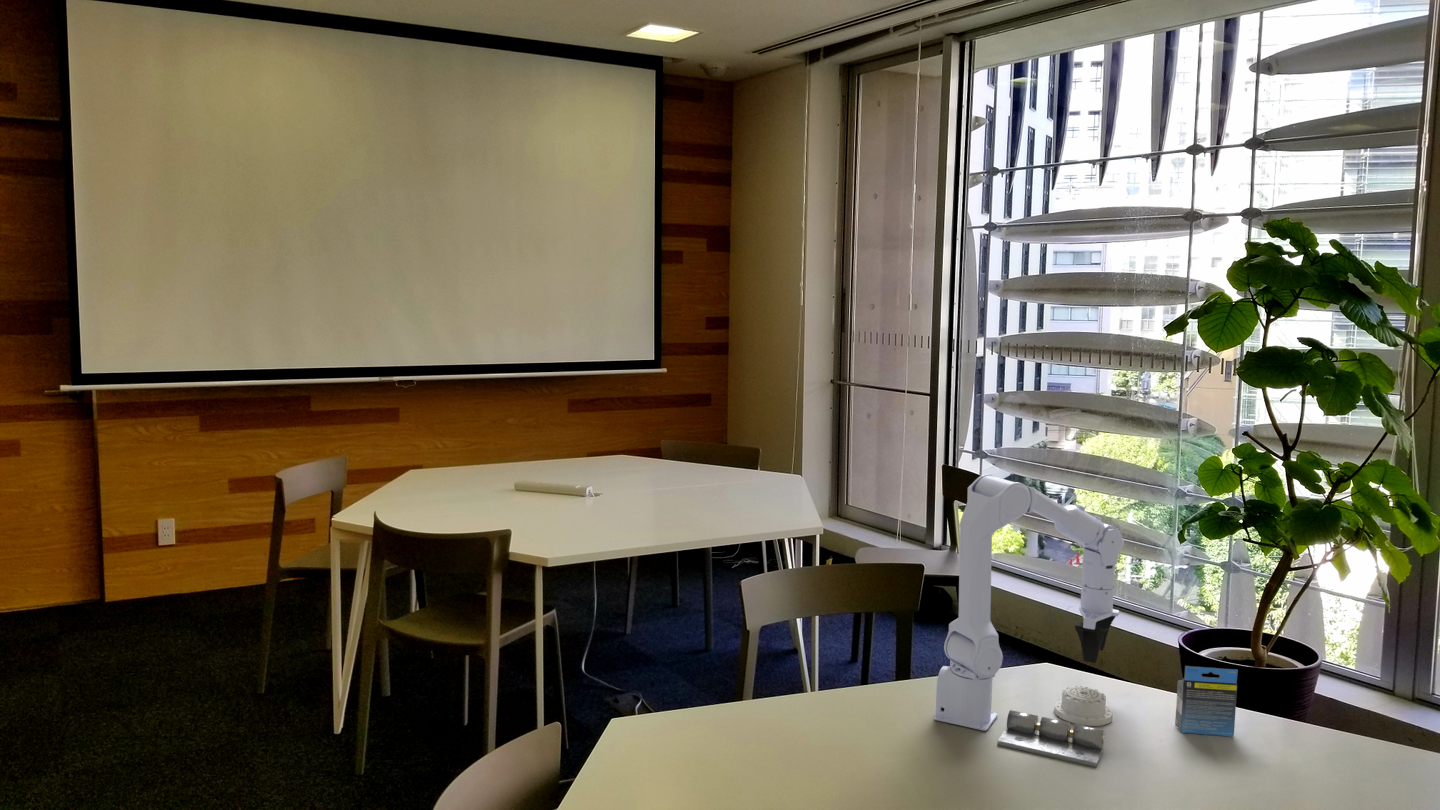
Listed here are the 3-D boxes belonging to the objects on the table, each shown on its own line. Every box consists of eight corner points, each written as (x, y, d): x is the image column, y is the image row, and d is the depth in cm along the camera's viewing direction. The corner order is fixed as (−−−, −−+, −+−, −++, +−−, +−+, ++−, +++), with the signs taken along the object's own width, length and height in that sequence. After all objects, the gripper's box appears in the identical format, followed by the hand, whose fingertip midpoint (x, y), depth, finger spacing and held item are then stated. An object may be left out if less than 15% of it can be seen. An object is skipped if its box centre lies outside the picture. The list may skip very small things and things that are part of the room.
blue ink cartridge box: (1227, 728, 183) (1232, 661, 182) (1234, 738, 179) (1239, 669, 178) (1174, 724, 184) (1178, 657, 183) (1180, 733, 181) (1184, 665, 179)
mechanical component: (1057, 724, 184) (1116, 730, 182) (1058, 701, 184) (1117, 706, 182) (1051, 703, 194) (1106, 708, 192) (1052, 680, 193) (1108, 685, 191)
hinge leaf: (997, 745, 175) (998, 724, 174) (1010, 726, 182) (1011, 706, 182) (1096, 767, 167) (1097, 746, 167) (1105, 747, 175) (1106, 726, 174)
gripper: (1113, 598, 185) (1109, 671, 187) (1126, 579, 198) (1122, 647, 199) (1073, 592, 188) (1069, 664, 190) (1087, 574, 201) (1084, 641, 203)
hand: (1093, 655), depth 195 cm, fingers open, 7 cm apart
